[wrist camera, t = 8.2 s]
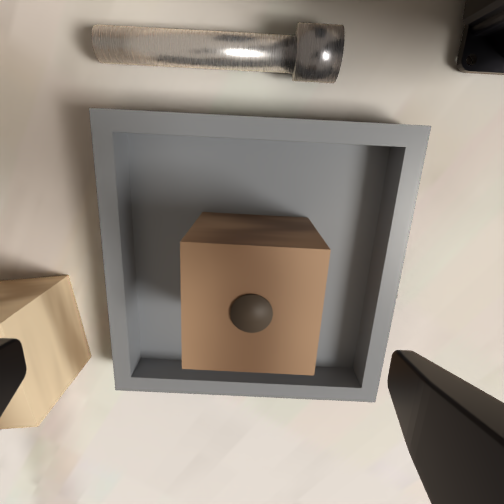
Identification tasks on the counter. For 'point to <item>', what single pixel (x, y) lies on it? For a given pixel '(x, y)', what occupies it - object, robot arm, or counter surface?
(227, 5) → the counter surface
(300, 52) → the rod
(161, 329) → the tray
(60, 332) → the block
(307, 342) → the block
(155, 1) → the counter surface
